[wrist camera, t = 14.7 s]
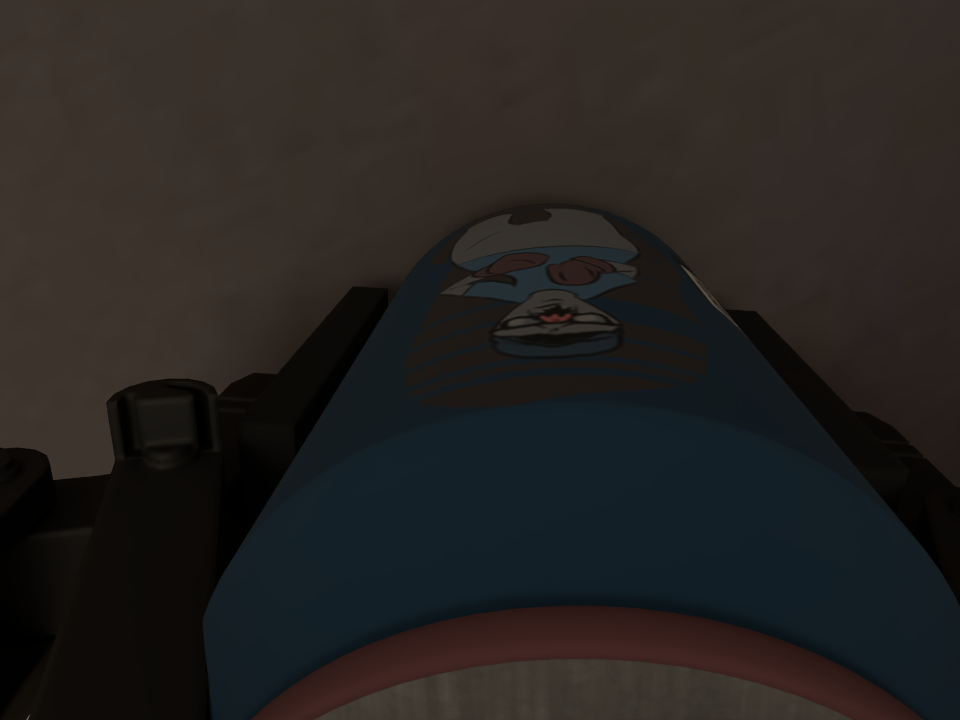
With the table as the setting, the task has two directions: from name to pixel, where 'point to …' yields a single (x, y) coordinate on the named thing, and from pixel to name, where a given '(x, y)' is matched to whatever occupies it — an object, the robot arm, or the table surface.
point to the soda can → (574, 515)
